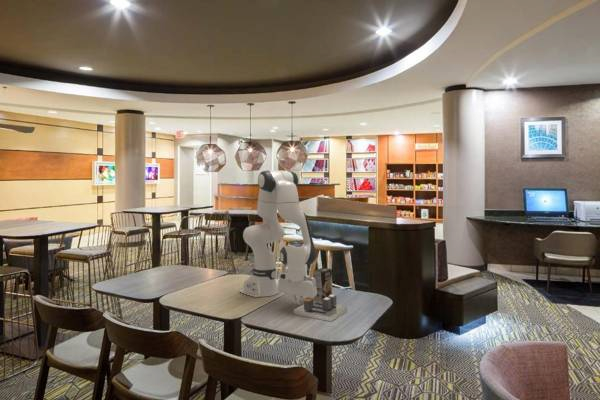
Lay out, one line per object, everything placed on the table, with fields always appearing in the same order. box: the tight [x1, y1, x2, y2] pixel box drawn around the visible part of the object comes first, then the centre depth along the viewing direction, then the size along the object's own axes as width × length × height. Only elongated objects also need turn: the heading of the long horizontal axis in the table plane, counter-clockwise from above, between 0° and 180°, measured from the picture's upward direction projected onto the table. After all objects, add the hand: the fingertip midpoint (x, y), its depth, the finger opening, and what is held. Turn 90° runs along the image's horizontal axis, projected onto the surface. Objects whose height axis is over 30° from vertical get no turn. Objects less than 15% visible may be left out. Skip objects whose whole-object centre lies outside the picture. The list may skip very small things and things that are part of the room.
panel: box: [293, 300, 348, 323], centre depth 181 cm, size 20×16×2 cm
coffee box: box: [312, 267, 333, 302], centre depth 199 cm, size 9×6×16 cm
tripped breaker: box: [303, 297, 313, 311], centre depth 179 cm, size 3×4×5 cm
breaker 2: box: [327, 294, 337, 307], centre depth 183 cm, size 3×4×5 cm
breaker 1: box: [322, 297, 332, 310], centre depth 179 cm, size 3×4×5 cm
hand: (297, 303), depth 182 cm, fingers closed
